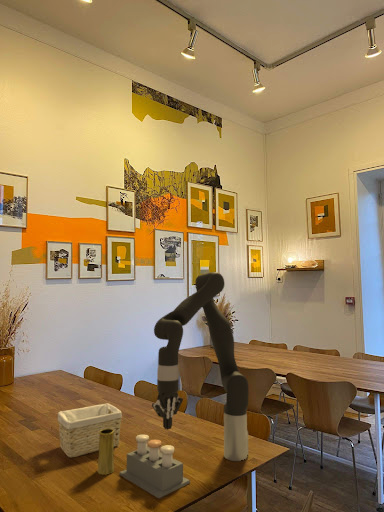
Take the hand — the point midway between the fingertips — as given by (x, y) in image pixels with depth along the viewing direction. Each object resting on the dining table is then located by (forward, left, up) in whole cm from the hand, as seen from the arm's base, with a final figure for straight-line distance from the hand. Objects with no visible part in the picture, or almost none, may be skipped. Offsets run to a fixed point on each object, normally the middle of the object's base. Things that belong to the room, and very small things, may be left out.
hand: (167, 428), depth 131 cm
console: (0, -7, -19) cm, 20 cm away
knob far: (0, -14, -14) cm, 20 cm away
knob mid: (0, -7, -14) cm, 16 cm away
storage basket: (+2, -48, -19) cm, 52 cm away
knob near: (0, 0, -14) cm, 14 cm away
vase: (+9, -24, -19) cm, 32 cm away
